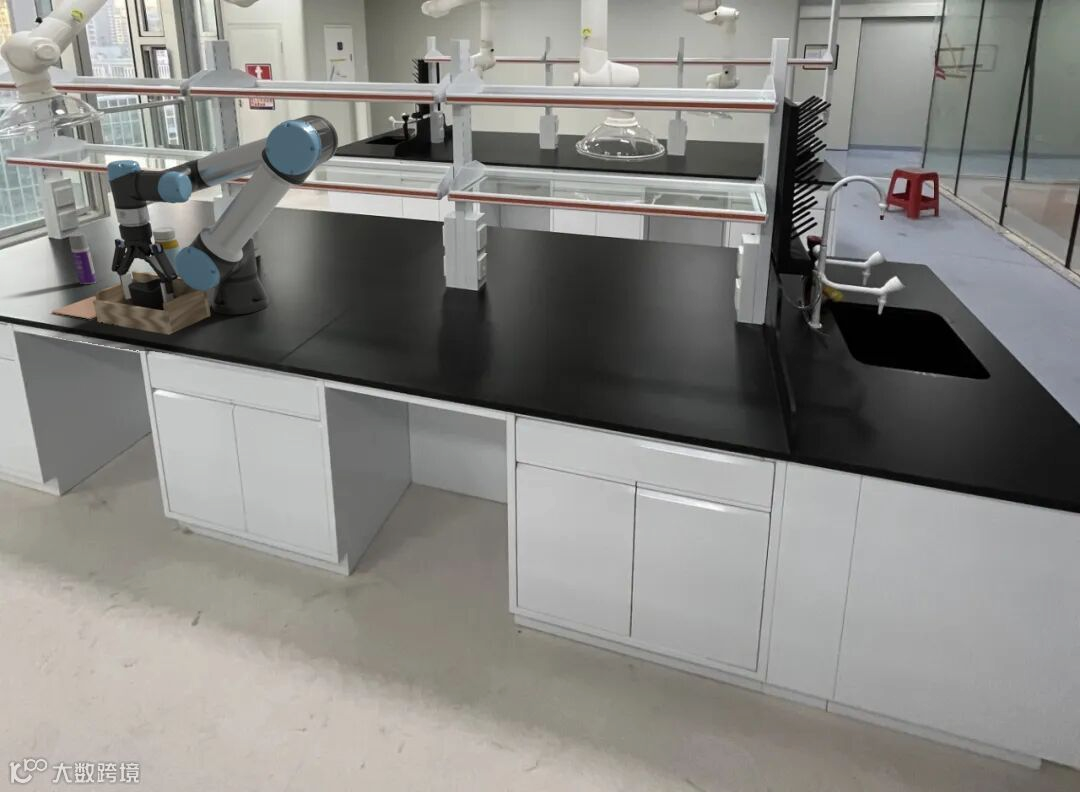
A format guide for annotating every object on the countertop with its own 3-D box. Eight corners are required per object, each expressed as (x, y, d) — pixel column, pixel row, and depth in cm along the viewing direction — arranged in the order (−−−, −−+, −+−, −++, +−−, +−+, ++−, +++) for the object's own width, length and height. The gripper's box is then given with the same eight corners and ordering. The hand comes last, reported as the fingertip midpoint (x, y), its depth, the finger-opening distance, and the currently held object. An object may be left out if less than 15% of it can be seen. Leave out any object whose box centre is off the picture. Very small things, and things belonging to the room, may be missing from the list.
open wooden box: (210, 315, 222) (204, 280, 217) (168, 334, 209) (161, 297, 204) (142, 304, 230) (134, 270, 225) (97, 322, 217) (89, 286, 212)
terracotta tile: (131, 304, 230) (130, 302, 229) (90, 320, 218) (89, 318, 217) (94, 298, 234) (93, 296, 234) (52, 313, 222) (51, 311, 222)
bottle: (173, 281, 249) (164, 233, 242) (155, 278, 251) (145, 231, 244) (189, 274, 255) (180, 228, 248) (171, 272, 257) (162, 226, 250)
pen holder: (160, 326, 214) (153, 290, 210) (128, 323, 216) (120, 288, 211) (180, 314, 223) (173, 279, 218) (149, 312, 224) (142, 277, 220)
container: (78, 285, 244) (66, 236, 238) (81, 281, 248) (69, 233, 242) (95, 284, 245) (83, 235, 239) (98, 279, 250) (87, 232, 243)
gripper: (85, 220, 208) (103, 298, 218) (161, 231, 201) (175, 312, 210) (109, 214, 215) (125, 290, 224) (183, 225, 207) (196, 303, 216)
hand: (149, 301), depth 217 cm, fingers open, 13 cm apart
